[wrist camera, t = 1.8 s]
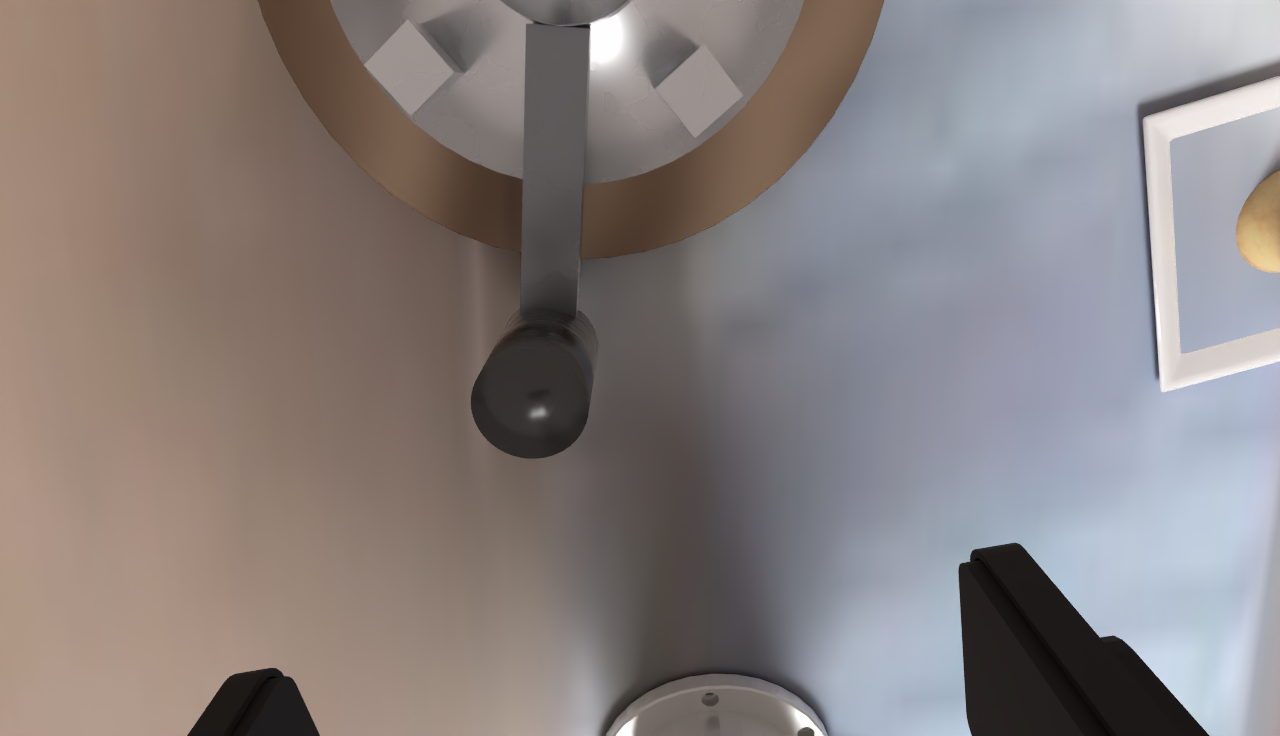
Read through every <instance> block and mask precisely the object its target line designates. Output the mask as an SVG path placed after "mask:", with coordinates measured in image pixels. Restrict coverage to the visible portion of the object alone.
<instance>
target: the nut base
mask: <svg viewBox="0 0 1280 736" xmlns="http://www.w3.org/2000/svg"><path fill="white" fill-rule="evenodd" d="M258 2H259V5H260V8H261V11H262V15H263V18H264V20H265V22H266V25H267V27H268V29H269V32H270V34H271V36H272V38H273V41H274V43H275V45H276V48H277V50H278V52H279V54H280V57H281V59H282V61H283V63H284V65H285V66H286V68H287V70H288V72H289V73H290V75H291V77H292V78H293V80H294V82H295V84H296V85H297V87H298V89H299V91H300V92H301V94H302V96H303V98H304V99H305V101H306V102H307V104H308V105H309V106H310V108H311V109H312V110H313V112H314V113H315V114H316V116H317V117H318V119H319V120H320V121H321V123H322V124H323V125H324V127H325V128H326V129H327V131H328V132H329V133H330V135H331V136H332V137H333V138H334V139H335V140H336V141H337V143H338V144H339V145H340V146H341V147H342V148H343V149H344V150H345V151H346V152H347V153H348V154H349V156H350V157H351V158H352V159H353V160H354V161H355V162H356V163H357V164H358V165H359V166H360V167H361V168H362V169H363V170H364V171H365V172H367V173H368V174H369V175H370V176H371V177H372V178H374V179H375V180H376V181H377V182H378V183H379V184H381V185H382V186H383V187H384V188H385V189H386V190H388V191H389V192H390V193H391V194H392V195H394V196H395V197H397V198H398V199H400V200H401V201H403V202H404V203H406V204H407V205H409V206H410V207H412V208H413V209H415V210H416V211H418V212H419V213H421V214H422V215H424V216H425V217H427V218H429V219H431V220H433V221H435V222H437V223H439V224H441V225H443V226H445V227H447V228H449V229H451V230H453V231H455V232H457V233H459V234H461V235H464V236H466V237H469V238H472V239H475V240H477V241H480V242H483V243H486V244H488V245H491V246H494V247H497V248H502V249H506V250H510V251H515V252H519V253H521V246H522V196H523V179H520V178H517V177H513V176H510V175H506V174H502V173H499V172H496V171H494V170H491V169H489V168H486V167H484V166H482V165H479V164H477V163H475V162H472V161H470V160H468V159H466V158H465V157H463V156H461V155H459V154H458V153H456V152H454V151H452V150H451V149H449V148H447V147H446V146H444V145H442V144H441V143H439V142H438V141H437V140H435V139H434V138H433V137H431V136H430V135H429V134H428V133H426V132H425V131H424V130H422V129H421V128H420V127H418V126H417V125H416V124H415V123H414V122H413V121H411V120H410V119H409V118H408V117H407V116H406V115H405V114H404V113H403V112H402V111H401V110H400V109H399V108H398V107H397V106H396V105H395V104H394V103H393V102H392V101H391V100H390V99H389V98H388V96H387V95H386V94H385V93H384V91H383V90H382V89H381V88H380V87H379V85H378V84H377V83H376V82H375V80H374V79H373V78H372V77H371V76H370V74H369V73H368V71H367V70H366V68H365V66H364V65H363V63H362V62H361V60H360V59H359V57H358V56H357V54H356V52H355V51H354V49H353V48H352V46H351V45H350V43H349V41H348V39H347V37H346V35H345V33H344V31H343V29H342V27H341V24H340V22H339V20H338V18H337V16H336V14H335V12H334V10H333V7H332V4H331V1H330V0H258ZM883 3H884V0H804V2H803V6H802V9H801V12H800V15H799V18H798V20H797V22H796V25H795V27H794V29H793V31H792V33H791V36H790V38H789V40H788V42H787V44H786V47H785V49H784V51H783V52H782V54H781V56H780V57H779V59H778V61H777V62H776V64H775V66H774V67H773V69H772V71H771V72H770V74H769V75H768V77H767V79H766V80H765V81H764V83H763V84H762V85H761V86H760V88H759V89H758V90H757V92H756V93H755V94H754V95H753V97H752V98H751V99H750V100H749V102H748V103H747V104H746V105H745V106H744V107H743V108H742V109H741V110H740V111H739V112H738V113H737V114H736V115H735V116H734V117H733V118H732V119H731V120H730V121H729V122H728V123H727V124H726V125H725V126H724V127H723V128H722V129H721V130H719V131H718V132H717V133H715V134H714V135H713V136H711V137H710V138H709V139H708V140H706V141H705V142H704V143H702V144H701V145H700V146H698V147H697V148H695V149H693V150H692V151H690V152H688V153H686V154H685V155H683V156H681V157H679V158H678V159H676V160H674V161H673V162H670V163H668V164H666V165H663V166H661V167H658V168H656V169H654V170H651V171H649V172H646V173H644V174H640V175H636V176H633V177H629V178H625V179H621V180H617V181H612V182H604V183H596V184H588V185H584V206H583V226H582V247H581V259H588V258H609V257H615V256H621V255H627V254H633V253H639V252H645V251H648V250H651V249H655V248H658V247H661V246H664V245H668V244H671V243H674V242H678V241H680V240H683V239H685V238H687V237H689V236H692V235H694V234H696V233H698V232H700V231H703V230H705V229H707V228H709V227H712V226H714V225H715V224H717V223H719V222H720V221H722V220H724V219H725V218H727V217H729V216H730V215H732V214H733V213H735V212H737V211H738V210H740V209H742V208H743V207H745V206H746V205H748V204H749V203H750V202H752V201H753V200H754V199H755V198H757V197H758V196H759V195H760V194H762V193H763V192H764V191H765V190H767V189H768V188H769V187H770V186H772V185H773V184H774V183H775V182H776V181H778V180H779V179H780V178H781V177H782V176H783V175H784V174H785V173H786V172H787V171H788V169H789V168H790V167H791V166H792V165H793V164H794V163H795V162H796V161H797V160H798V159H799V158H800V157H801V156H802V155H803V154H804V153H805V152H806V151H807V150H808V148H809V147H810V146H811V144H812V143H813V142H814V140H815V139H816V138H817V137H818V135H819V134H820V133H821V131H822V130H823V129H824V127H825V126H826V125H827V123H828V122H829V121H830V119H831V118H832V117H833V115H834V113H835V111H836V110H837V108H838V106H839V105H840V103H841V101H842V100H843V98H844V96H845V95H846V93H847V91H848V89H849V88H850V86H851V84H852V83H853V81H854V79H855V77H856V74H857V72H858V70H859V68H860V65H861V63H862V61H863V59H864V56H865V54H866V52H867V50H868V47H869V45H870V43H871V41H872V38H873V35H874V31H875V28H876V25H877V22H878V19H879V15H880V12H881V9H882V6H883Z"/></svg>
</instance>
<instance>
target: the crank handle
mask: <svg viewBox="0 0 1280 736" xmlns="http://www.w3.org/2000/svg"><path fill="white" fill-rule="evenodd" d="M330 1H331V4H332V7H333V10H334V12H335V14H336V16H337V18H338V20H339V22H340V24H341V27H342V29H343V31H344V33H345V35H346V37H347V39H348V41H349V43H350V45H351V46H352V48H353V49H354V51H355V52H356V54H357V56H358V57H359V59H360V60H361V62H362V63H363V65H364V66H365V68H366V70H367V71H368V73H369V74H370V76H371V77H372V78H373V79H374V80H375V82H376V83H377V84H378V85H379V87H380V88H381V89H382V90H383V91H384V93H385V94H386V95H387V96H388V98H389V99H390V100H391V101H392V102H393V103H394V104H395V105H396V106H397V107H398V108H399V109H400V110H401V111H402V112H403V113H404V114H405V115H406V116H407V117H408V118H409V119H410V120H411V121H413V122H414V123H415V124H416V125H417V126H418V127H420V128H421V129H422V130H424V131H425V132H426V133H428V134H429V135H430V136H431V137H433V138H434V139H435V140H437V141H438V142H439V143H441V144H442V145H444V146H446V147H447V148H449V149H451V150H452V151H454V152H456V153H458V154H459V155H461V156H463V157H465V158H466V159H468V160H470V161H472V162H475V163H477V164H479V165H482V166H484V167H486V168H489V169H491V170H494V171H496V172H499V173H502V174H506V175H510V176H513V177H517V178H520V179H523V196H522V246H521V296H520V309H519V310H518V311H517V312H516V313H515V314H514V315H513V316H512V318H511V319H510V320H509V322H508V324H507V326H506V327H505V329H504V331H503V333H502V335H501V336H500V338H499V340H498V342H497V344H496V345H495V347H494V349H493V351H492V353H491V354H490V356H489V358H488V360H487V361H486V363H485V365H484V367H483V369H482V370H481V372H480V374H479V376H478V378H477V379H476V381H475V384H474V387H473V390H472V395H471V409H472V414H473V417H474V420H475V423H476V425H477V427H478V429H479V430H480V432H481V433H482V434H483V436H484V437H485V438H486V439H487V440H488V441H489V442H490V443H491V444H493V445H494V446H495V447H497V448H498V449H500V450H502V451H504V452H506V453H508V454H510V455H513V456H517V457H521V458H544V457H548V456H552V455H555V454H557V453H559V452H561V451H563V450H565V449H566V448H568V447H569V446H570V445H571V444H572V443H574V442H575V440H576V439H577V438H578V437H579V436H580V434H581V432H582V431H583V429H584V427H585V424H586V421H587V418H588V411H589V405H590V398H591V391H592V384H593V378H594V371H595V364H596V357H597V350H598V342H597V336H596V333H595V330H594V328H593V326H592V324H591V323H590V321H589V320H588V318H587V317H586V316H585V315H584V314H583V313H582V312H581V311H579V310H578V309H579V289H580V268H581V247H582V226H583V206H584V185H588V184H596V183H604V182H612V181H617V180H621V179H625V178H629V177H633V176H636V175H640V174H644V173H646V172H649V171H651V170H654V169H656V168H658V167H661V166H663V165H666V164H668V163H670V162H673V161H674V160H676V159H678V158H679V157H681V156H683V155H685V154H686V153H688V152H690V151H692V150H693V149H695V148H697V147H698V146H700V145H701V144H702V143H704V142H705V141H706V140H708V139H709V138H710V137H711V136H713V135H714V134H715V133H717V132H718V131H719V130H721V129H722V128H723V127H724V126H725V125H726V124H727V123H728V122H729V121H730V120H731V119H732V118H733V117H734V116H735V115H736V114H737V113H738V112H739V111H740V110H741V109H742V108H743V107H744V106H745V105H746V104H747V103H748V102H749V100H750V99H751V98H752V97H753V95H754V94H755V93H756V92H757V90H758V89H759V88H760V86H761V85H762V84H763V83H764V81H765V80H766V79H767V77H768V75H769V74H770V72H771V71H772V69H773V67H774V66H775V64H776V62H777V61H778V59H779V57H780V56H781V54H782V52H783V51H784V49H785V47H786V44H787V42H788V40H789V38H790V36H791V33H792V31H793V29H794V27H795V25H796V22H797V20H798V18H799V15H800V12H801V9H802V6H803V2H804V0H330Z"/></svg>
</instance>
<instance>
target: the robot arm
mask: <svg viewBox="0 0 1280 736" xmlns="http://www.w3.org/2000/svg"><path fill="white" fill-rule="evenodd" d="M959 589H960V607H961V624H962V642H963V660H964V678H965V695H966V713H967V720H968V724H969V728H970V731H971V734H972V736H1209V735H1208V734H1207V732H1206V731H1205V730H1204V729H1203V728H1202V727H1201V726H1200V725H1199V723H1198V722H1197V721H1196V720H1195V719H1194V718H1193V717H1192V716H1191V714H1190V713H1189V712H1188V711H1187V710H1186V709H1185V708H1184V707H1183V705H1182V704H1181V703H1180V702H1179V701H1178V700H1177V699H1176V698H1175V696H1174V695H1173V694H1172V693H1171V692H1170V691H1169V690H1168V689H1167V687H1166V686H1165V685H1164V684H1163V683H1162V682H1161V681H1160V680H1159V678H1158V677H1157V676H1156V675H1155V674H1154V673H1153V672H1152V670H1151V669H1150V668H1149V667H1148V666H1147V665H1146V664H1145V663H1144V661H1143V660H1142V659H1141V658H1140V657H1139V656H1138V655H1137V654H1136V652H1135V651H1134V650H1133V649H1132V648H1131V647H1130V646H1129V645H1127V644H1126V643H1125V642H1124V641H1123V640H1122V639H1120V638H1117V637H1115V636H1108V637H1101V638H1100V637H1099V636H1098V635H1097V634H1096V633H1095V631H1094V630H1093V629H1092V628H1091V627H1090V626H1089V624H1088V623H1087V622H1086V621H1085V620H1084V618H1083V617H1082V616H1081V615H1080V614H1079V613H1078V611H1077V610H1076V609H1075V608H1074V607H1073V605H1072V604H1071V603H1070V602H1069V601H1068V600H1067V598H1066V597H1065V596H1064V595H1063V594H1062V592H1061V591H1060V590H1059V589H1058V588H1057V587H1056V585H1055V584H1054V583H1053V582H1052V581H1051V580H1050V578H1049V577H1048V576H1047V575H1046V574H1045V572H1044V571H1043V570H1042V569H1041V568H1040V567H1039V565H1038V564H1037V563H1036V562H1035V561H1034V559H1033V558H1032V557H1031V556H1030V555H1029V554H1028V552H1027V551H1026V550H1025V549H1024V548H1023V547H1022V546H1021V545H1020V544H1018V543H1011V544H1005V545H999V546H993V547H987V548H981V549H975V550H973V551H972V553H971V556H970V562H966V563H961V564H960V565H959ZM187 736H320V735H319V733H318V731H317V728H316V726H315V724H314V722H313V720H312V718H311V715H310V713H309V711H308V709H307V707H306V705H305V703H304V700H303V698H302V696H301V694H300V692H299V690H298V687H297V685H296V683H295V682H294V680H293V679H292V678H290V677H287V676H285V677H284V675H283V674H282V672H281V671H279V670H278V669H277V668H268V669H262V670H256V671H250V672H244V673H238V674H234V675H232V676H230V677H229V678H228V679H227V680H226V681H225V682H224V683H223V685H222V686H221V688H220V689H219V691H218V692H217V693H216V695H215V696H214V698H213V699H212V701H211V702H210V704H209V705H208V706H207V708H206V709H205V711H204V712H203V714H202V715H201V717H200V718H199V719H198V721H197V722H196V724H195V725H194V727H193V728H192V730H191V731H190V732H189V734H188V735H187ZM606 736H828V735H827V732H826V730H825V728H824V725H823V723H822V722H821V721H820V719H819V718H818V717H817V715H816V714H815V712H814V711H813V710H812V709H811V708H810V707H809V706H808V705H807V704H806V703H804V702H803V701H802V700H801V699H800V698H799V697H798V696H796V695H794V694H793V693H791V692H789V691H787V690H786V689H784V688H782V687H780V686H778V685H775V684H773V683H770V682H767V681H764V680H762V679H759V678H753V677H748V676H743V675H737V674H707V675H698V676H690V677H687V678H683V679H679V680H676V681H672V682H669V683H666V684H664V685H662V686H660V687H658V688H655V689H653V690H651V691H649V692H647V693H646V694H644V695H643V696H641V697H640V698H638V699H637V700H636V701H634V702H633V703H631V704H630V705H629V706H628V707H627V708H626V709H625V710H624V711H623V712H622V713H621V714H620V715H619V716H618V717H617V718H616V720H615V721H614V723H613V724H612V726H611V728H610V729H609V731H608V732H607V734H606Z"/></svg>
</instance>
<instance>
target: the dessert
mask: <svg viewBox="0 0 1280 736" xmlns="http://www.w3.org/2000/svg"><path fill="white" fill-rule="evenodd" d="M1277 107H1280V75H1279V76H1276V77H1273V78H1269V79H1266V80H1263V81H1260V82H1256V83H1253V84H1250V85H1246V86H1243V87H1240V88H1237V89H1233V90H1230V91H1227V92H1223V93H1220V94H1217V95H1214V96H1210V97H1207V98H1204V99H1200V100H1197V101H1194V102H1190V103H1187V104H1184V105H1181V106H1177V107H1174V108H1171V109H1167V110H1164V111H1161V112H1158V113H1154V114H1151V115H1148V116H1146V117H1145V118H1144V119H1143V134H1144V149H1145V164H1146V179H1147V194H1148V210H1149V225H1150V240H1151V255H1152V270H1153V285H1154V300H1155V316H1156V331H1157V346H1158V361H1159V376H1160V390H1161V391H1162V392H1167V391H1171V390H1174V389H1178V388H1182V387H1186V386H1189V385H1193V384H1197V383H1201V382H1204V381H1208V380H1212V379H1216V378H1219V377H1223V376H1227V375H1231V374H1234V373H1238V372H1242V371H1245V370H1249V369H1253V368H1257V367H1260V366H1264V365H1268V364H1272V363H1275V362H1279V361H1280V328H1277V329H1273V330H1270V331H1266V332H1262V333H1259V334H1255V335H1251V336H1248V337H1244V338H1240V339H1237V340H1233V341H1230V342H1226V343H1222V344H1219V345H1215V346H1211V347H1208V348H1204V349H1200V350H1197V351H1193V352H1189V353H1186V354H1184V353H1181V351H1180V334H1179V315H1178V295H1177V276H1176V257H1175V238H1174V219H1173V200H1172V181H1171V162H1170V142H1171V140H1173V139H1174V138H1177V137H1180V136H1183V135H1187V134H1190V133H1193V132H1197V131H1200V130H1204V129H1207V128H1210V127H1214V126H1217V125H1220V124H1224V123H1227V122H1230V121H1234V120H1237V119H1240V118H1244V117H1247V116H1250V115H1254V114H1257V113H1261V112H1264V111H1267V110H1271V109H1274V108H1277ZM1236 239H1237V245H1238V248H1239V251H1240V253H1241V255H1242V256H1243V258H1244V259H1245V260H1246V261H1247V262H1248V263H1249V264H1250V265H1252V266H1253V267H1255V268H1257V269H1259V270H1262V271H1265V272H1271V273H1280V170H1278V171H1276V172H1275V173H1273V174H1272V175H1270V176H1269V177H1267V178H1266V179H1265V180H1264V181H1262V182H1261V183H1260V184H1259V185H1258V186H1257V187H1256V188H1255V190H1254V191H1253V192H1252V193H1251V194H1250V196H1249V197H1248V199H1247V200H1246V202H1245V204H1244V206H1243V208H1242V210H1241V212H1240V215H1239V218H1238V222H1237V228H1236Z"/></svg>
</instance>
